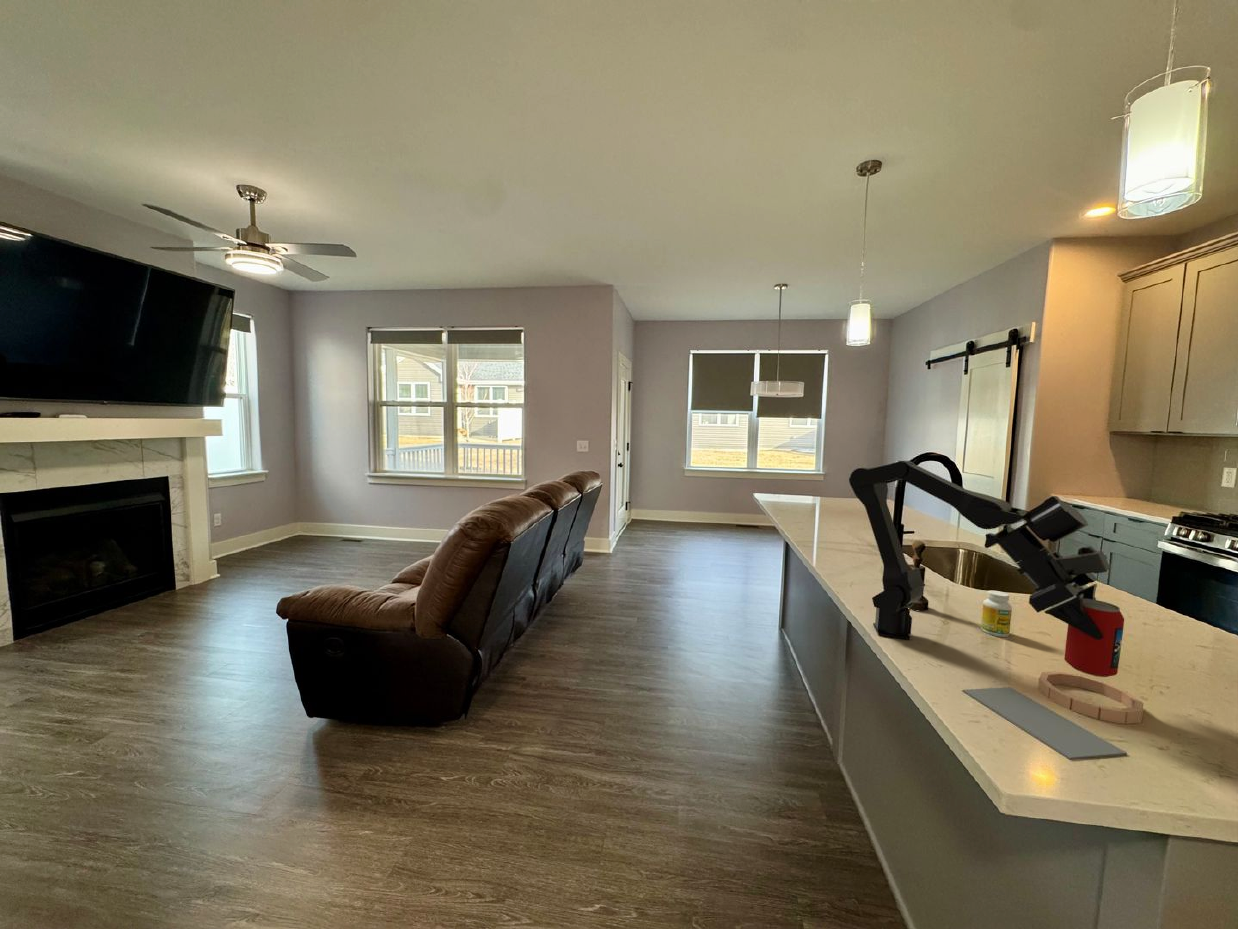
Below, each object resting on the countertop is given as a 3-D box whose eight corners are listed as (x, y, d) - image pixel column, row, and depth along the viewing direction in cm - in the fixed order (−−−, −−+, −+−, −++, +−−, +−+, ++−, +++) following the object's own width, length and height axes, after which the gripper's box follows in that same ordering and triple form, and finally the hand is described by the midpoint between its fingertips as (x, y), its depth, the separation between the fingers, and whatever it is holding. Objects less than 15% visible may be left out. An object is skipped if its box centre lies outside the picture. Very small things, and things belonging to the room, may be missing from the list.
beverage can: (1128, 682, 81) (1137, 613, 80) (1081, 677, 82) (1089, 608, 81) (1097, 663, 87) (1105, 599, 86) (1054, 658, 89) (1061, 595, 88)
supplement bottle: (992, 627, 117) (996, 588, 116) (1015, 636, 112) (1019, 596, 111) (974, 628, 116) (978, 589, 115) (996, 638, 111) (1000, 597, 110)
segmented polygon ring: (1063, 713, 81) (1064, 702, 81) (1025, 676, 93) (1026, 666, 93) (1163, 730, 77) (1165, 718, 77) (1109, 689, 89) (1110, 679, 89)
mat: (962, 691, 87) (962, 689, 87) (1010, 688, 88) (1010, 687, 88) (1069, 759, 69) (1069, 757, 69) (1126, 754, 71) (1127, 752, 71)
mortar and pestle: (894, 602, 133) (899, 537, 131) (916, 602, 133) (921, 538, 132) (910, 611, 126) (916, 543, 125) (934, 611, 127) (939, 544, 125)
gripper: (1061, 537, 80) (1150, 625, 72) (1087, 527, 91) (1167, 602, 83) (998, 571, 87) (1073, 654, 79) (1030, 557, 98) (1098, 629, 90)
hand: (1105, 634), depth 83 cm, fingers closed on beverage can, 7 cm apart
